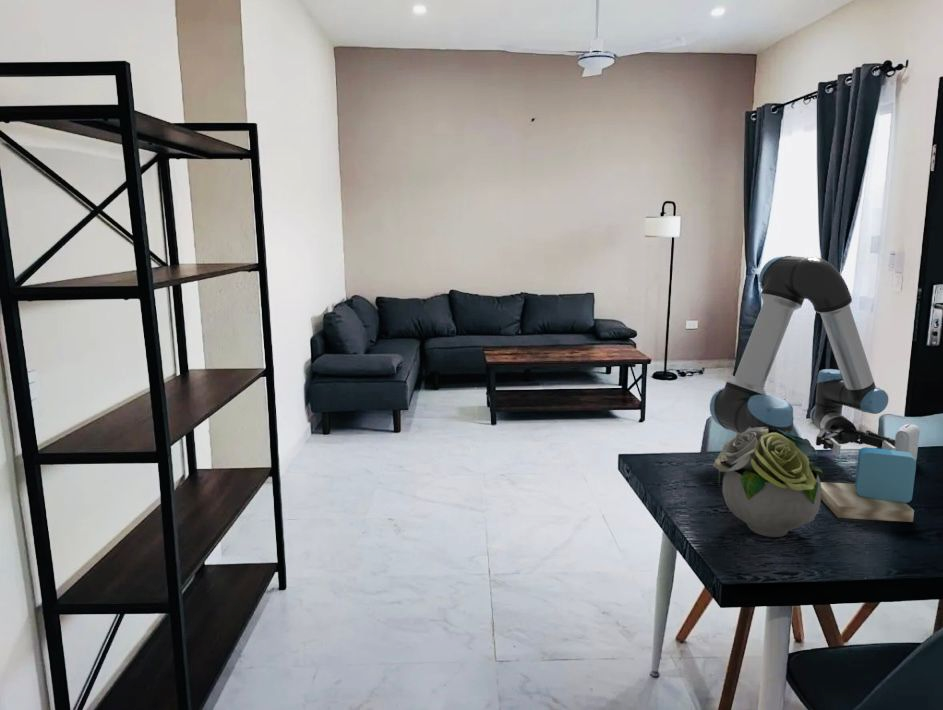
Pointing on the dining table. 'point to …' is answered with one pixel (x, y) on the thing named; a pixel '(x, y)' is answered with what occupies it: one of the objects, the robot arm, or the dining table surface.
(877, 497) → the data package
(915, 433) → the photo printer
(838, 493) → the birch board
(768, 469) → the flower arrangement
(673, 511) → the dining table surface
